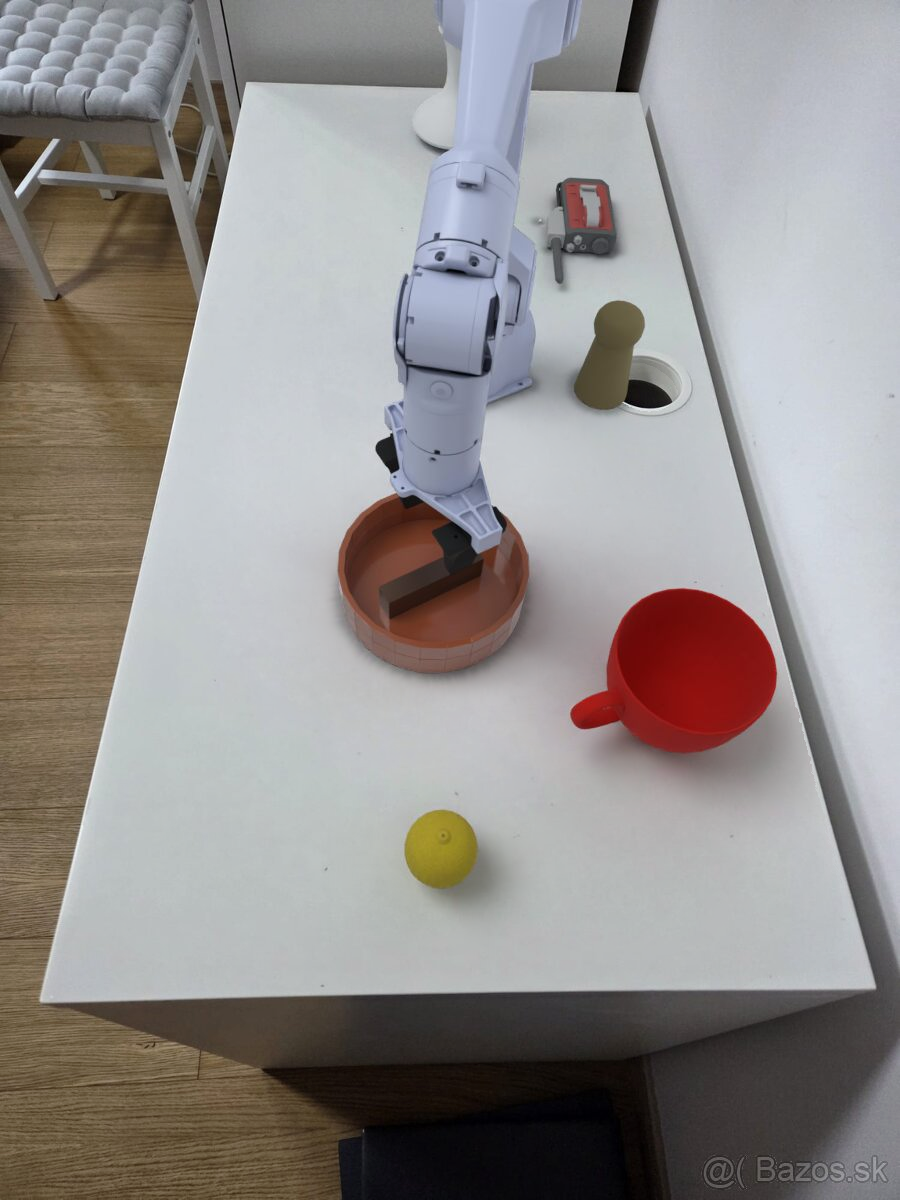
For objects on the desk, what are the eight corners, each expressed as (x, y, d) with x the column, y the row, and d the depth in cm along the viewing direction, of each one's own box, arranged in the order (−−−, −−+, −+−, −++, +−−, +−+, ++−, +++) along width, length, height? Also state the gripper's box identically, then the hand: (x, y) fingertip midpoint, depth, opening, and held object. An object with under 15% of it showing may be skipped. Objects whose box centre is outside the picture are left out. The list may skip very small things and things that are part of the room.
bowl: (463, 494, 83) (466, 462, 79) (556, 622, 76) (566, 595, 72) (310, 560, 78) (305, 530, 74) (395, 705, 71) (395, 681, 67)
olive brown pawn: (624, 414, 90) (650, 336, 81) (570, 404, 90) (590, 325, 81) (628, 376, 93) (654, 297, 84) (577, 366, 93) (597, 286, 84)
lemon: (402, 828, 66) (402, 799, 59) (469, 823, 66) (478, 794, 59) (405, 899, 63) (406, 878, 56) (476, 894, 63) (486, 872, 56)
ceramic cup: (524, 685, 73) (541, 633, 64) (684, 624, 77) (720, 567, 68) (593, 818, 67) (621, 780, 58) (761, 744, 71) (811, 699, 62)
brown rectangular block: (470, 560, 78) (473, 542, 76) (481, 575, 78) (484, 558, 75) (379, 603, 75) (378, 586, 73) (389, 619, 75) (389, 603, 72)
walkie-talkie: (540, 192, 110) (549, 290, 100) (545, 161, 106) (554, 259, 96) (604, 196, 110) (619, 294, 100) (612, 164, 106) (628, 263, 96)
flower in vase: (463, 168, 112) (479, -48, 90) (396, 139, 114) (395, -78, 93) (512, 127, 118) (537, -86, 96) (446, 99, 120) (457, -113, 99)
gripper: (346, 377, 59) (355, 492, 71) (446, 519, 53) (437, 619, 65) (430, 346, 61) (425, 463, 73) (535, 479, 55) (511, 583, 67)
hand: (436, 534), depth 69 cm, fingers open, 7 cm apart
